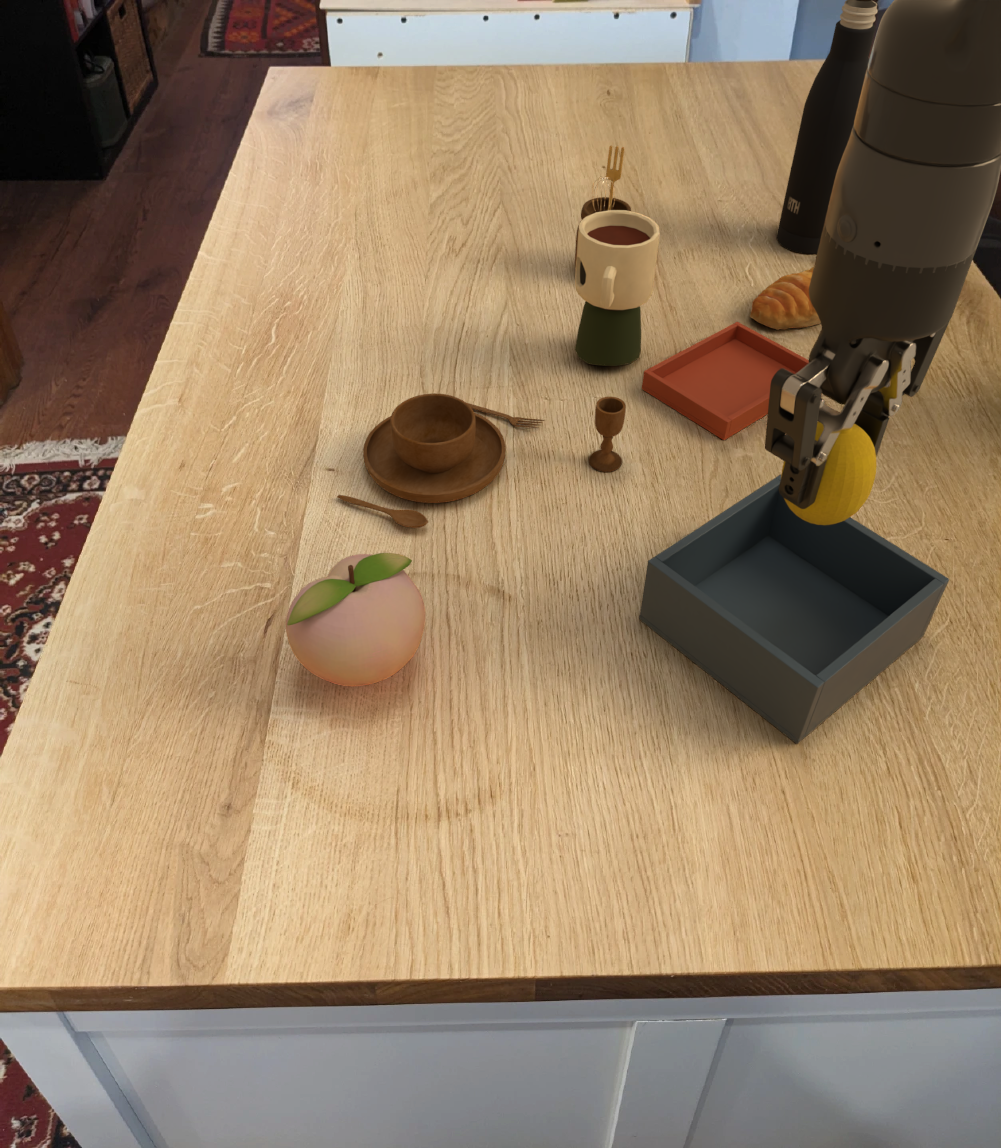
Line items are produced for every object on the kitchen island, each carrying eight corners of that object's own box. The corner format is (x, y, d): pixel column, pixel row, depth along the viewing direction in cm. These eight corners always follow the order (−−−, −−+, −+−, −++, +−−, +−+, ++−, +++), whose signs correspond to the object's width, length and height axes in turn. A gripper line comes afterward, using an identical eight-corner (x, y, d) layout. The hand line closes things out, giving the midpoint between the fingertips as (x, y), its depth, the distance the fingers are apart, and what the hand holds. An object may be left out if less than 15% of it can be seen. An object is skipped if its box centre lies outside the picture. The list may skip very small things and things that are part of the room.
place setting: (428, 389, 94) (425, 334, 90) (629, 453, 87) (636, 397, 83) (319, 501, 83) (310, 443, 79) (539, 583, 76) (542, 526, 72)
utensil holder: (568, 280, 108) (574, 168, 99) (581, 251, 112) (588, 142, 103) (623, 288, 107) (634, 176, 98) (634, 259, 111) (646, 149, 102)
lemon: (852, 559, 64) (886, 460, 58) (763, 538, 65) (788, 439, 59) (862, 503, 67) (895, 405, 61) (778, 484, 69) (803, 386, 63)
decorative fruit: (360, 744, 66) (344, 645, 59) (277, 679, 70) (252, 578, 63) (457, 660, 71) (453, 559, 64) (375, 603, 75) (362, 502, 68)
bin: (765, 531, 81) (780, 473, 76) (923, 636, 73) (950, 578, 69) (638, 618, 74) (647, 560, 70) (796, 744, 66) (818, 687, 62)
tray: (733, 339, 100) (737, 321, 98) (816, 384, 95) (821, 366, 93) (641, 389, 94) (643, 370, 93) (723, 440, 89) (727, 422, 87)
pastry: (777, 343, 99) (785, 309, 97) (732, 312, 103) (738, 278, 101) (847, 317, 103) (856, 282, 100) (800, 287, 107) (808, 254, 104)
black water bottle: (839, 233, 115) (919, -72, 94) (828, 259, 111) (908, -54, 89) (783, 222, 117) (848, -80, 95) (770, 247, 113) (835, -63, 91)
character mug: (581, 320, 102) (589, 195, 93) (651, 330, 101) (667, 204, 92) (559, 381, 95) (567, 252, 85) (635, 392, 94) (651, 263, 84)
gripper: (880, 304, 46) (802, 564, 58) (1045, 207, 53) (944, 460, 65) (751, 242, 50) (704, 498, 62) (920, 159, 57) (846, 406, 69)
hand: (826, 477), depth 64 cm, fingers closed on lemon, 5 cm apart
